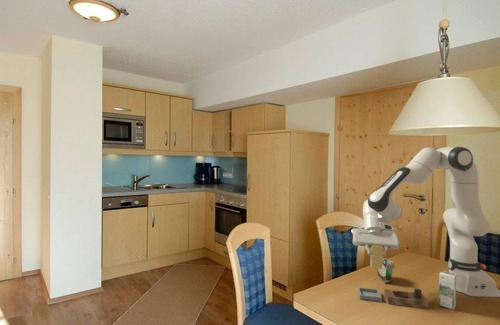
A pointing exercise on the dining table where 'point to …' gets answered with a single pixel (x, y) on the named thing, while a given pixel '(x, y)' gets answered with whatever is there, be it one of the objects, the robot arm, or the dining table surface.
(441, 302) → the syrup box
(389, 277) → the food container
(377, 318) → the dining table surface
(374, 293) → the tray
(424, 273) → the dining table surface
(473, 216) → the robot arm
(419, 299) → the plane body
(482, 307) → the dining table surface
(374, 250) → the gold rectangular block
